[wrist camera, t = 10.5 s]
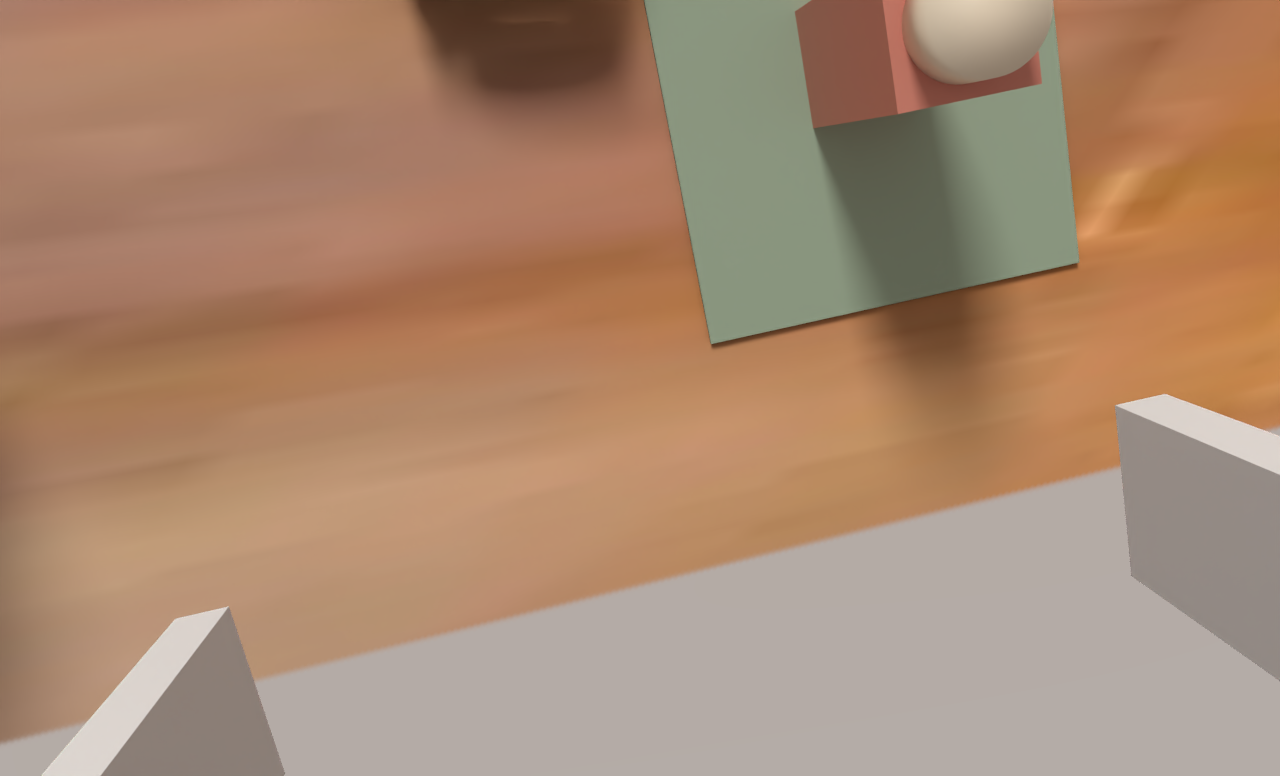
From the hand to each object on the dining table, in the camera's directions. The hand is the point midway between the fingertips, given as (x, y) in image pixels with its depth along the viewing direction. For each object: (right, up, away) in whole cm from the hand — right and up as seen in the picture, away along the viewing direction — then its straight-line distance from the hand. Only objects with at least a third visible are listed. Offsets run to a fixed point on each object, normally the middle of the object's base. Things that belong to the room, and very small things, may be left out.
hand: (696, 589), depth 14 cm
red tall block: (+8, +16, +24) cm, 30 cm away
